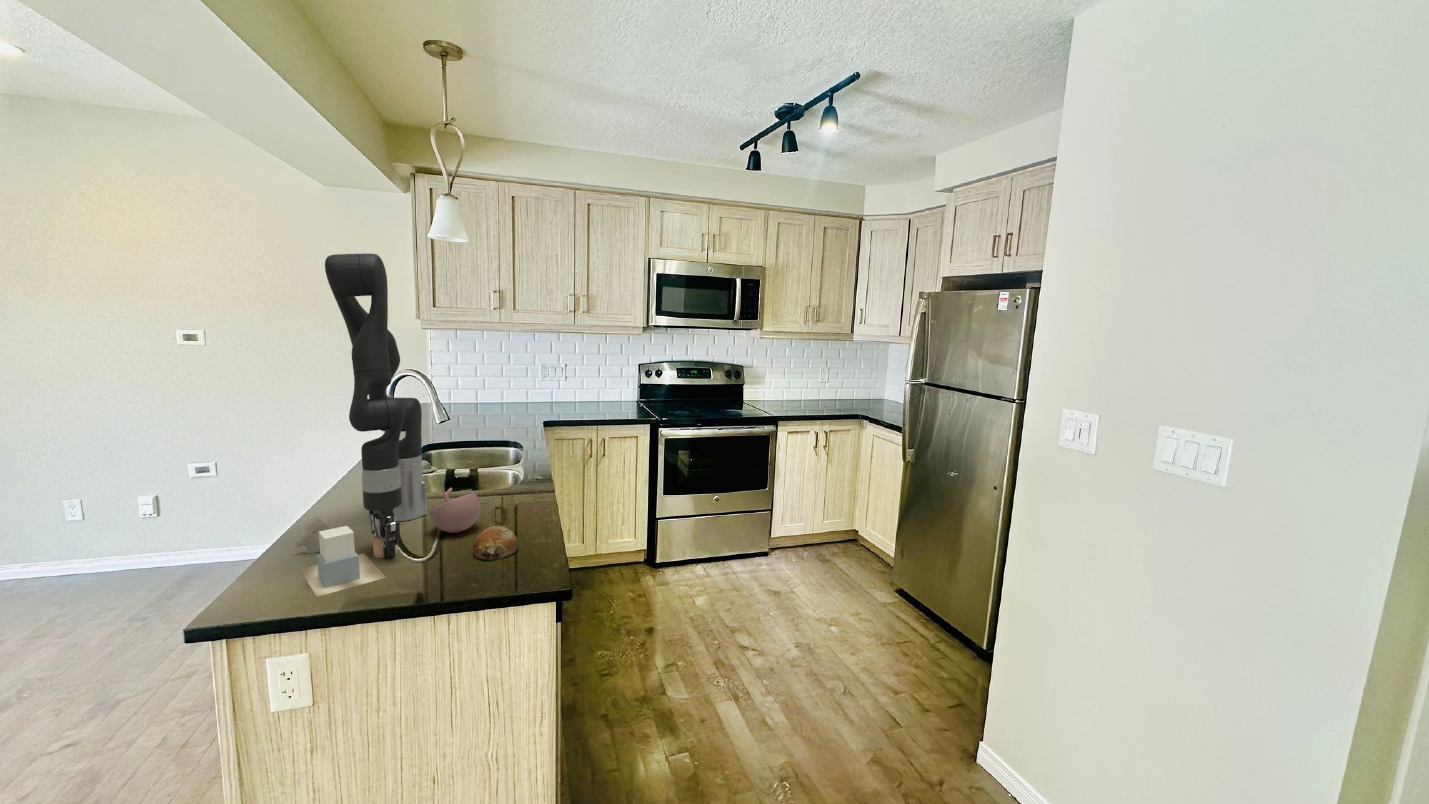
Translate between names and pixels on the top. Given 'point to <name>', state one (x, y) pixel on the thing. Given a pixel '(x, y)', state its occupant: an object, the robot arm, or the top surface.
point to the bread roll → (495, 543)
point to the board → (366, 575)
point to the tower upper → (336, 543)
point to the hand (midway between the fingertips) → (386, 557)
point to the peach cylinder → (380, 547)
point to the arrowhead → (311, 535)
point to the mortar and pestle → (456, 512)
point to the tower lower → (338, 570)
